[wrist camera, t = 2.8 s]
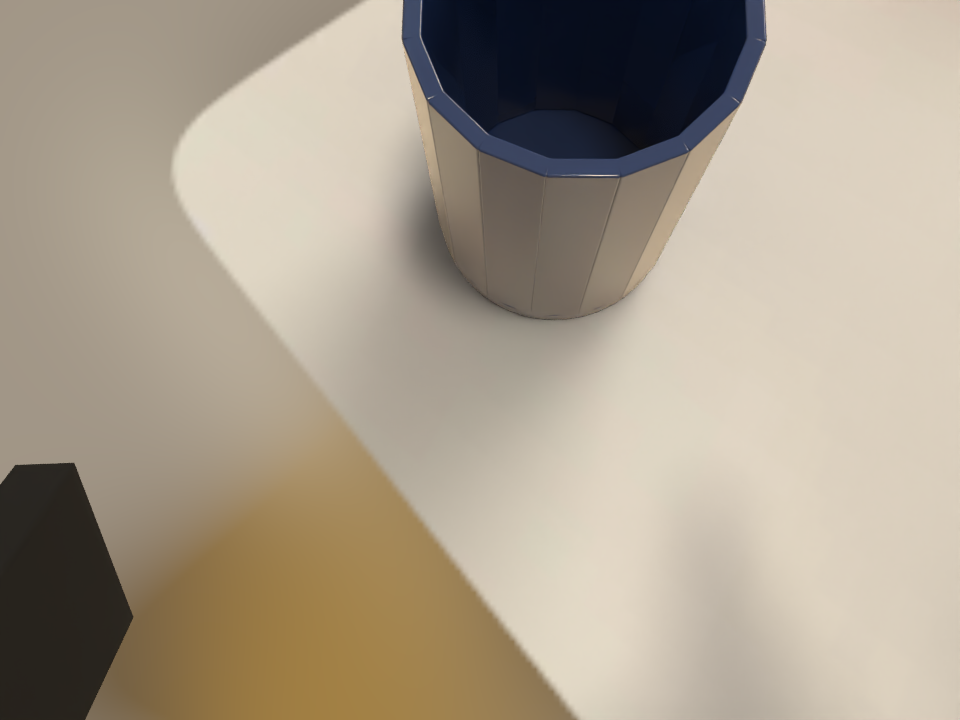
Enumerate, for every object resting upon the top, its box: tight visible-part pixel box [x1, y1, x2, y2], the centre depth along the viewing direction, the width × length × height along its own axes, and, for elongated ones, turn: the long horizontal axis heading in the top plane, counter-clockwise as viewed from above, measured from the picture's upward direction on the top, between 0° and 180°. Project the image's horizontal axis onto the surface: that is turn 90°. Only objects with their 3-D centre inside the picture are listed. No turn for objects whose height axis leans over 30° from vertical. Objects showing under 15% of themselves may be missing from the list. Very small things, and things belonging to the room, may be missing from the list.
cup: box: [402, 0, 767, 320], centre depth 23 cm, size 7×7×11 cm
